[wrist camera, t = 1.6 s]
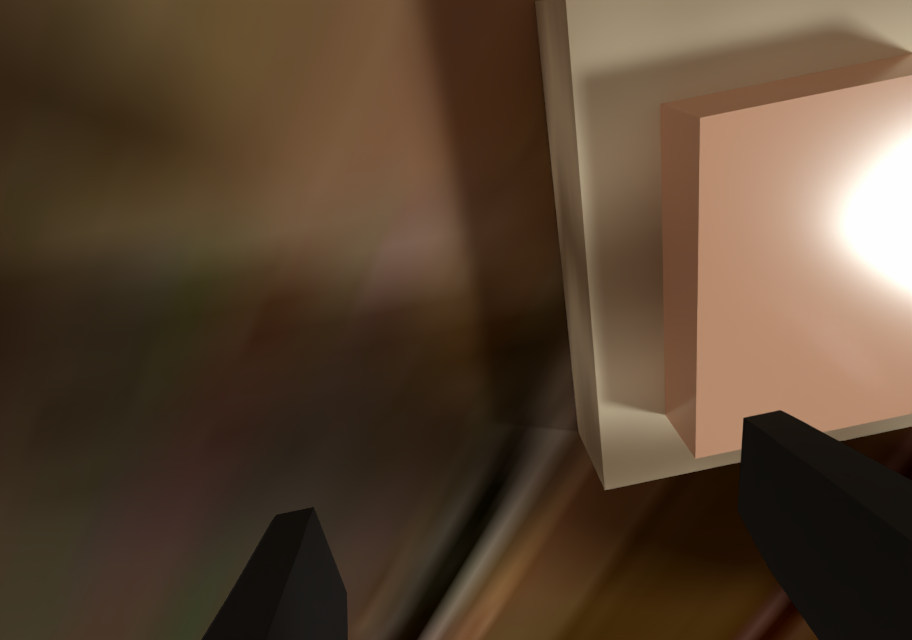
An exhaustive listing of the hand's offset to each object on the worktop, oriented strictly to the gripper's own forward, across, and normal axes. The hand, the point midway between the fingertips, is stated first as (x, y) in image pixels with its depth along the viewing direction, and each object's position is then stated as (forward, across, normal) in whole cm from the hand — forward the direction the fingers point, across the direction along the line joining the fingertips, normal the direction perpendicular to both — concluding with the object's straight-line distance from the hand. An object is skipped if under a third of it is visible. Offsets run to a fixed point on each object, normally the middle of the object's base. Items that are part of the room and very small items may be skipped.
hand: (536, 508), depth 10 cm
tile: (+7, -8, 0) cm, 11 cm away
